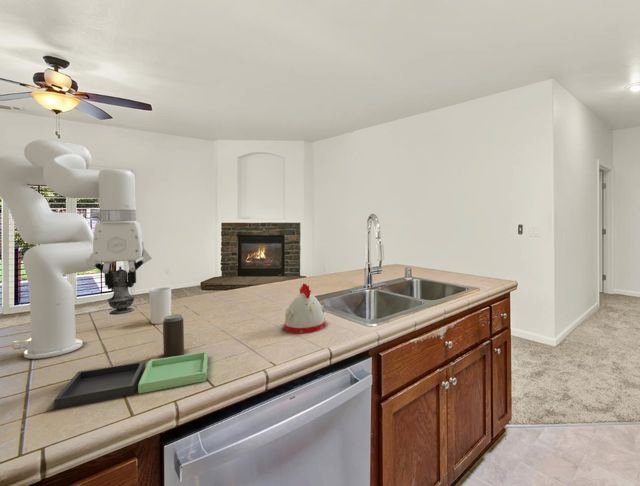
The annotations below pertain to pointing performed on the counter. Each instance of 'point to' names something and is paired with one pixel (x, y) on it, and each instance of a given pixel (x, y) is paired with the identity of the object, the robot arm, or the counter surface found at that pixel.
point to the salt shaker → (121, 294)
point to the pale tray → (174, 372)
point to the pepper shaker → (173, 335)
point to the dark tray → (100, 384)
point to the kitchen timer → (304, 313)
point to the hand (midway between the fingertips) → (121, 286)
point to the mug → (160, 304)
